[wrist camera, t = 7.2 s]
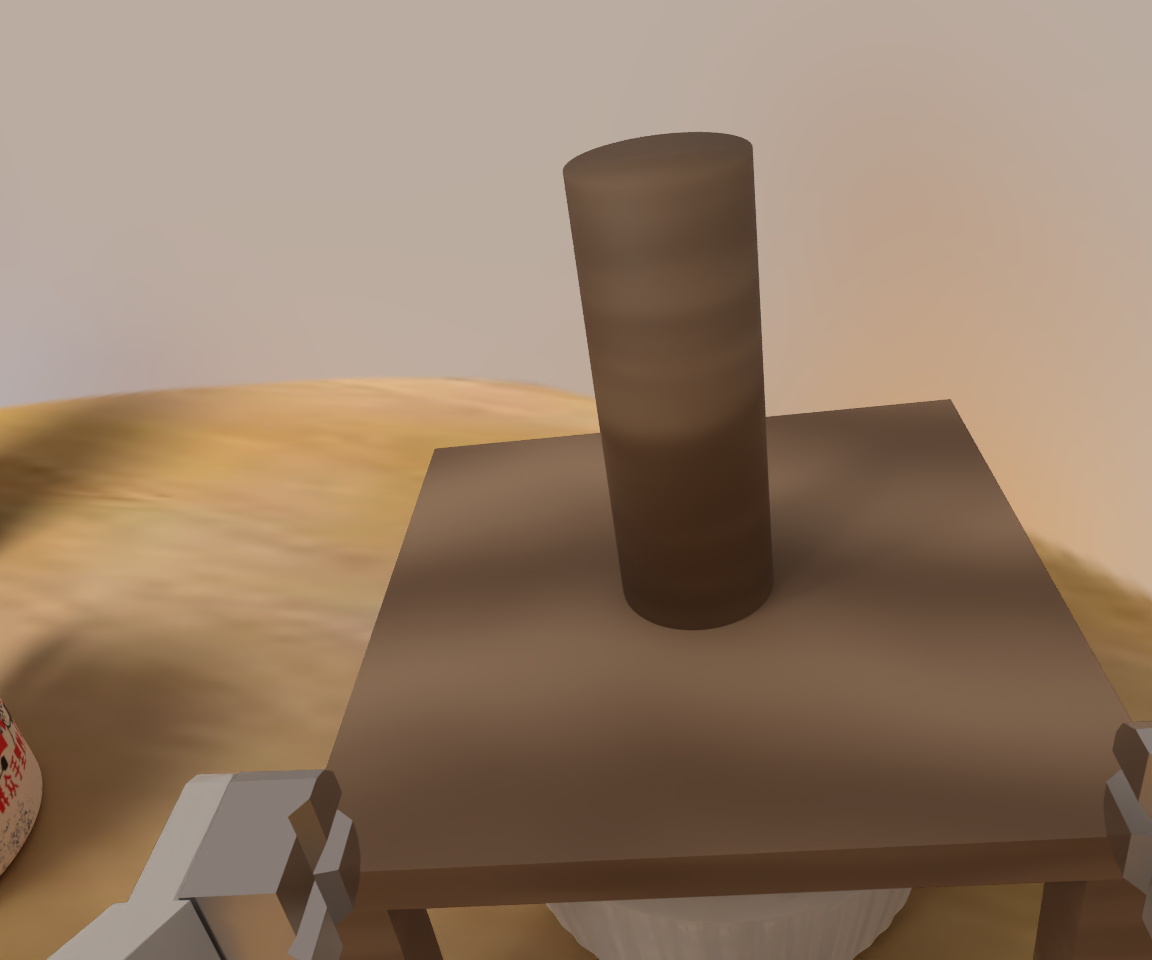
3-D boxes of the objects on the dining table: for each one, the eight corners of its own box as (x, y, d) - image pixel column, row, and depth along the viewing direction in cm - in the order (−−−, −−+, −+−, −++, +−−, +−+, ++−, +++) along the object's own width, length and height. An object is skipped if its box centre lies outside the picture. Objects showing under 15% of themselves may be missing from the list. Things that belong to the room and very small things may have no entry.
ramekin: (1062, 887, 24) (1090, 721, 21) (650, 1165, 20) (618, 1007, 17) (765, 633, 32) (758, 493, 30) (441, 792, 29) (398, 648, 26)
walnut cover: (1121, 1116, 19) (1345, 247, 11) (400, 1128, 21) (76, 384, 12) (937, 632, 31) (971, 34, 22) (487, 663, 33) (355, 118, 24)
